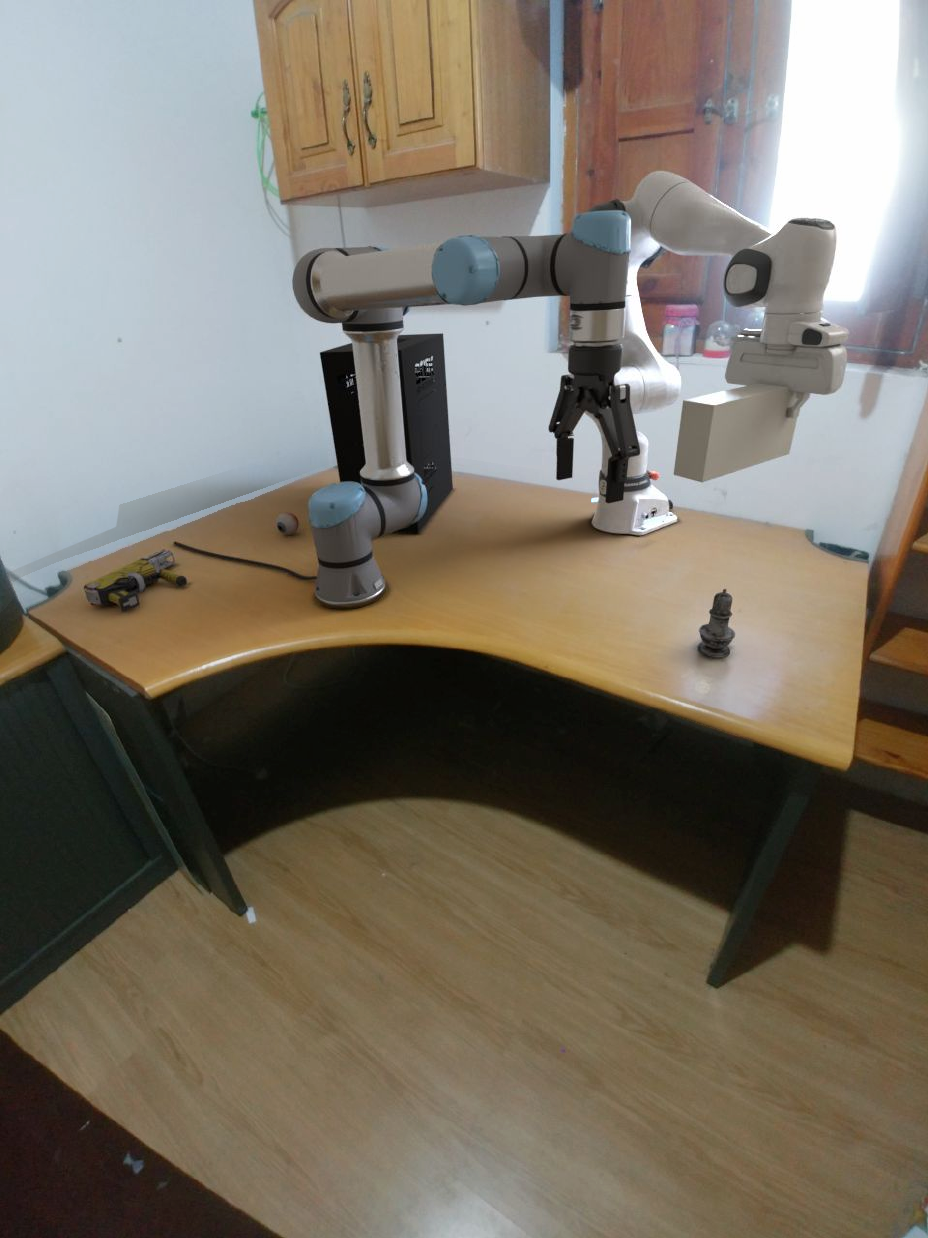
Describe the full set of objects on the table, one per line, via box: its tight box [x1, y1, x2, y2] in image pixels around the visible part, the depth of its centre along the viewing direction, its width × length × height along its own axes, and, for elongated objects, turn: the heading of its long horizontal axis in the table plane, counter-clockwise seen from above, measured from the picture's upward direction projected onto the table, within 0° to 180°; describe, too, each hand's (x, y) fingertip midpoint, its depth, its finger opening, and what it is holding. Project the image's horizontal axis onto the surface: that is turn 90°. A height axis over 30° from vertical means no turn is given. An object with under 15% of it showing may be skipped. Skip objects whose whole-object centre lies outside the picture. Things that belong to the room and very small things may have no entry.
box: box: [673, 383, 798, 483], centre depth 106 cm, size 25×6×12 cm, turn 124°
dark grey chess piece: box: [697, 588, 736, 659], centre depth 103 cm, size 6×6×12 cm
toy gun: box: [83, 548, 188, 613], centre depth 139 cm, size 5×24×15 cm
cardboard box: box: [319, 332, 454, 535], centre depth 167 cm, size 38×20×45 cm, turn 167°
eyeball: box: [275, 511, 300, 536], centre depth 163 cm, size 6×6×6 cm
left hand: (587, 489), depth 96 cm, fingers open, 13 cm apart
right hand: (772, 414), depth 110 cm, fingers closed on box, 6 cm apart
